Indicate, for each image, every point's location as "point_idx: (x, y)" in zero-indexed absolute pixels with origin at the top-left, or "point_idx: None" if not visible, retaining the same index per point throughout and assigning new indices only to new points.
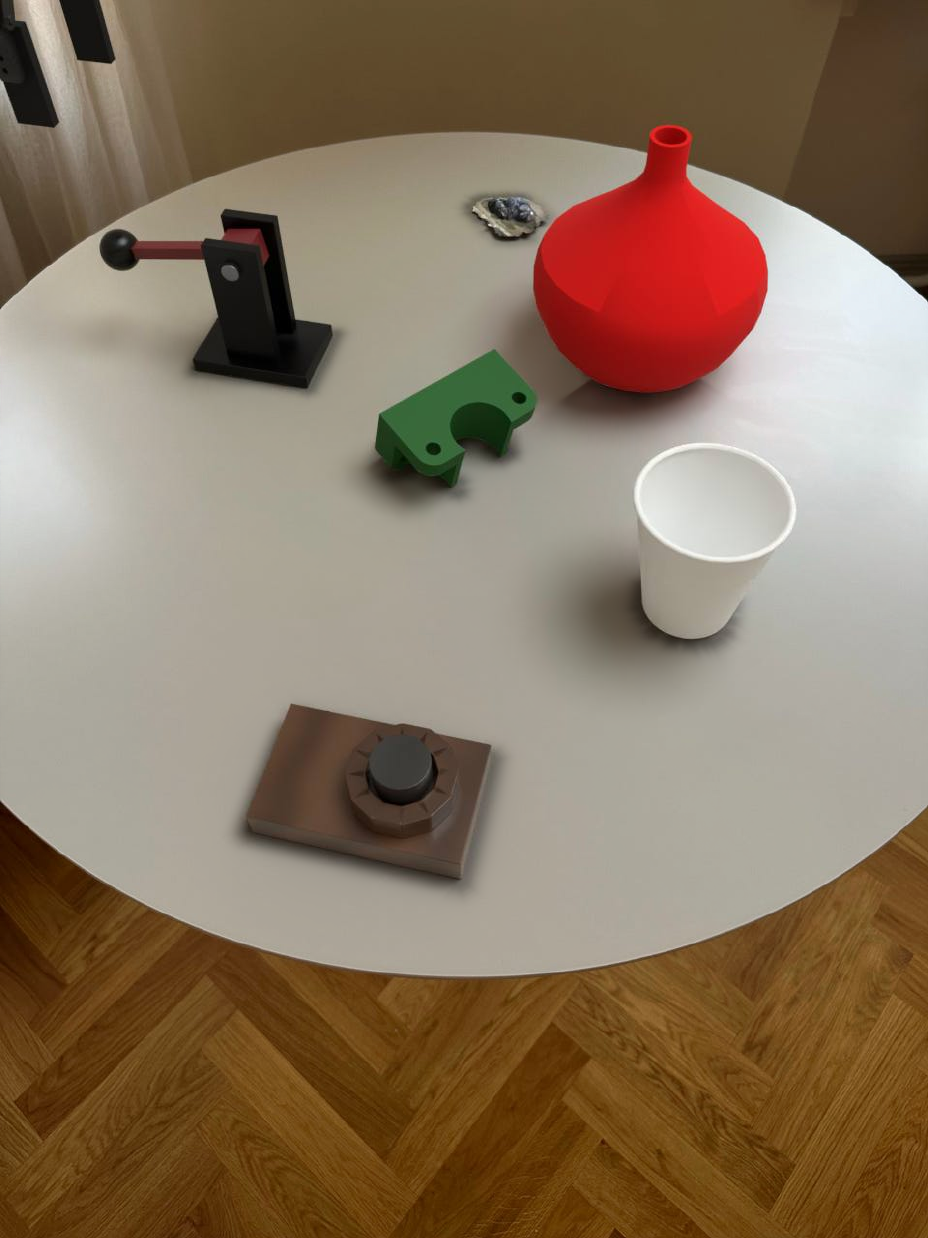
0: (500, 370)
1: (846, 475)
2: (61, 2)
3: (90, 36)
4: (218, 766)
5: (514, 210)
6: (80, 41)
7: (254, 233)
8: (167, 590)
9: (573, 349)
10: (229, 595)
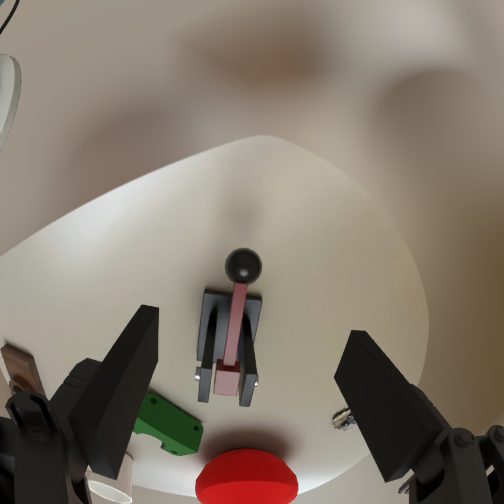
0: (185, 451)
1: (189, 488)
2: (390, 386)
3: (354, 383)
4: (14, 333)
5: (350, 421)
6: (358, 359)
7: (229, 394)
8: (55, 305)
9: (206, 468)
10: (62, 332)
